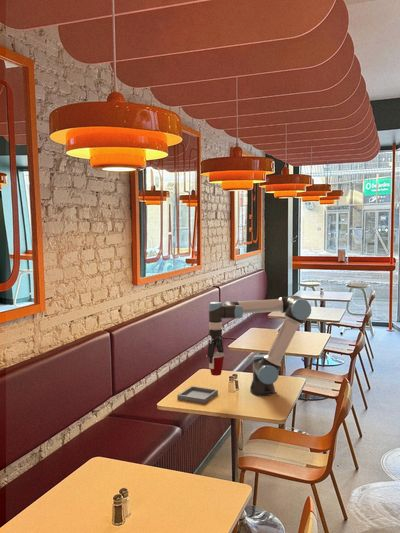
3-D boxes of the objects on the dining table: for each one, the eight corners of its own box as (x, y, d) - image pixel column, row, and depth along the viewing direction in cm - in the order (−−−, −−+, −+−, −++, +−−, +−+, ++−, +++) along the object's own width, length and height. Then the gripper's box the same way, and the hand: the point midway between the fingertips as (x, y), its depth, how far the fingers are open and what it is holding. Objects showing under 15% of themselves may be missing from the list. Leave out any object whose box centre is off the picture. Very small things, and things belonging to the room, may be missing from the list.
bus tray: (217, 394, 301) (217, 389, 301) (204, 404, 285) (204, 399, 285) (191, 390, 309) (191, 385, 309) (177, 399, 293) (177, 394, 293)
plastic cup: (208, 371, 294) (208, 351, 293) (226, 372, 292) (226, 352, 291) (204, 376, 284) (204, 356, 283) (223, 377, 282) (223, 357, 281)
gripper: (217, 324, 298) (217, 360, 300) (200, 332, 277) (201, 370, 279) (229, 325, 295) (229, 361, 296) (213, 333, 274) (213, 372, 276)
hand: (215, 365), depth 288 cm, fingers closed on plastic cup, 11 cm apart
